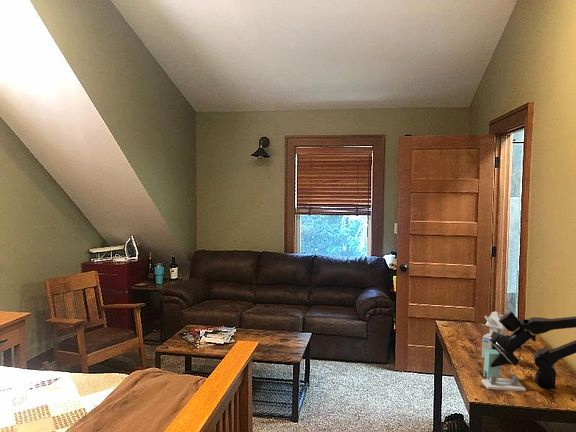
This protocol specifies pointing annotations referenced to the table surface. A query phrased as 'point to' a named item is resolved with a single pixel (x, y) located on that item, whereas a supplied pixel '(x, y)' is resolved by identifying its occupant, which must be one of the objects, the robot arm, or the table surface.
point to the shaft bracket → (503, 383)
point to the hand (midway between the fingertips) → (488, 363)
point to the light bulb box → (486, 344)
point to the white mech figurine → (494, 323)
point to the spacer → (489, 359)
